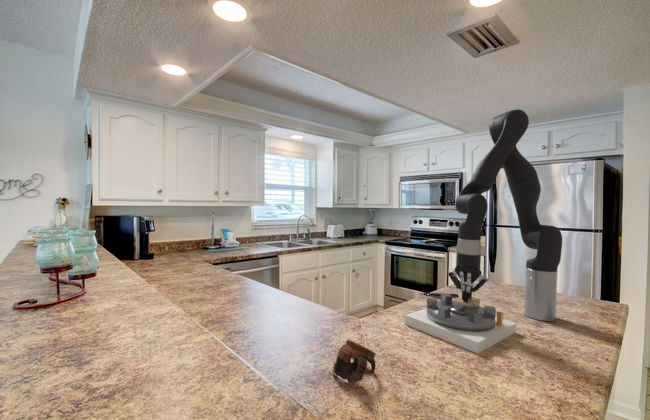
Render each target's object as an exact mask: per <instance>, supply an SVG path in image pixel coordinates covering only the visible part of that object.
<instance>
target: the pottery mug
mask: <svg viewBox="0 0 650 420" xmlns="http://www.w3.org/2000/svg"><path fill="white" fill-rule="evenodd" d="M375 357H376V353H375V352H374V351H373V350H371V349H369V348H368V347H365V346H363V345H361V344H359V343H358V342H354V340H353V341H352V340H350V339H347V340H346V343H345V344H343V345H342V346H341V347H340V348H339V350H338V355H337V356H336V360H335V362H333V363H334V364H333V369H332V371H333V370H334V373H335V374H336V375H338V376H340V377H341V378H343V379H347V380H349V381H350V378H351V379H352V380H353V381H354V382H360V381H362V380H363V378H364V375H365V374H366V371H367V367H368V363H369V364H370V371H371V370H372V371H373V372H372V373H375V371H376V360H375ZM351 359H353V360H352V361H353V362H351Z"/></svg>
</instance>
